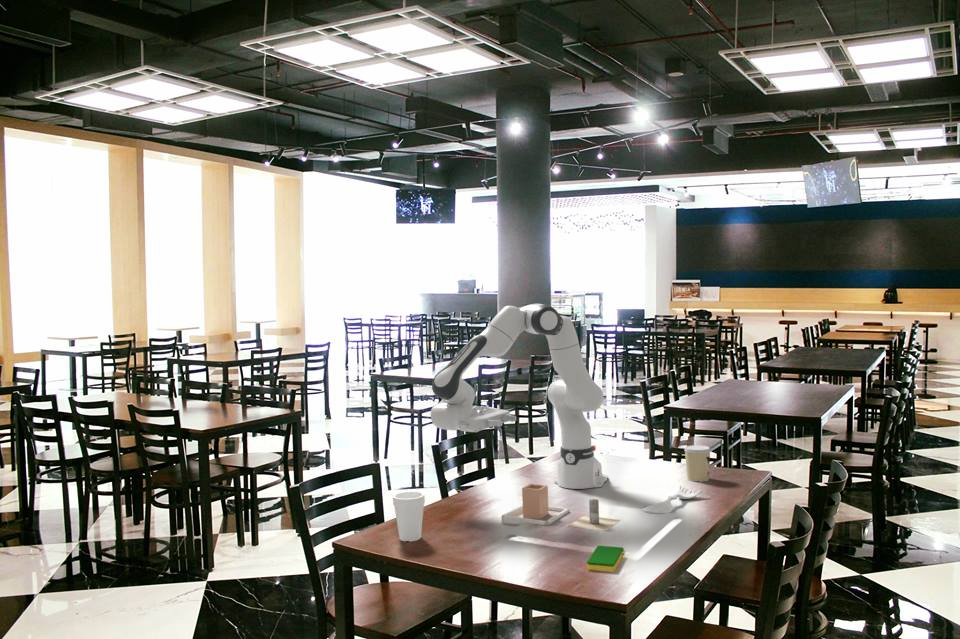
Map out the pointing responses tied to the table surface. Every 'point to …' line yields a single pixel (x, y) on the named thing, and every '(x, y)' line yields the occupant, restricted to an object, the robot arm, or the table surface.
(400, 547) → the table surface
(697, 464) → the coffee cup
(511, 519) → the tray
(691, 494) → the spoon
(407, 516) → the foam cup
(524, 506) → the sleeve
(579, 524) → the stand
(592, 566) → the dish sponge
